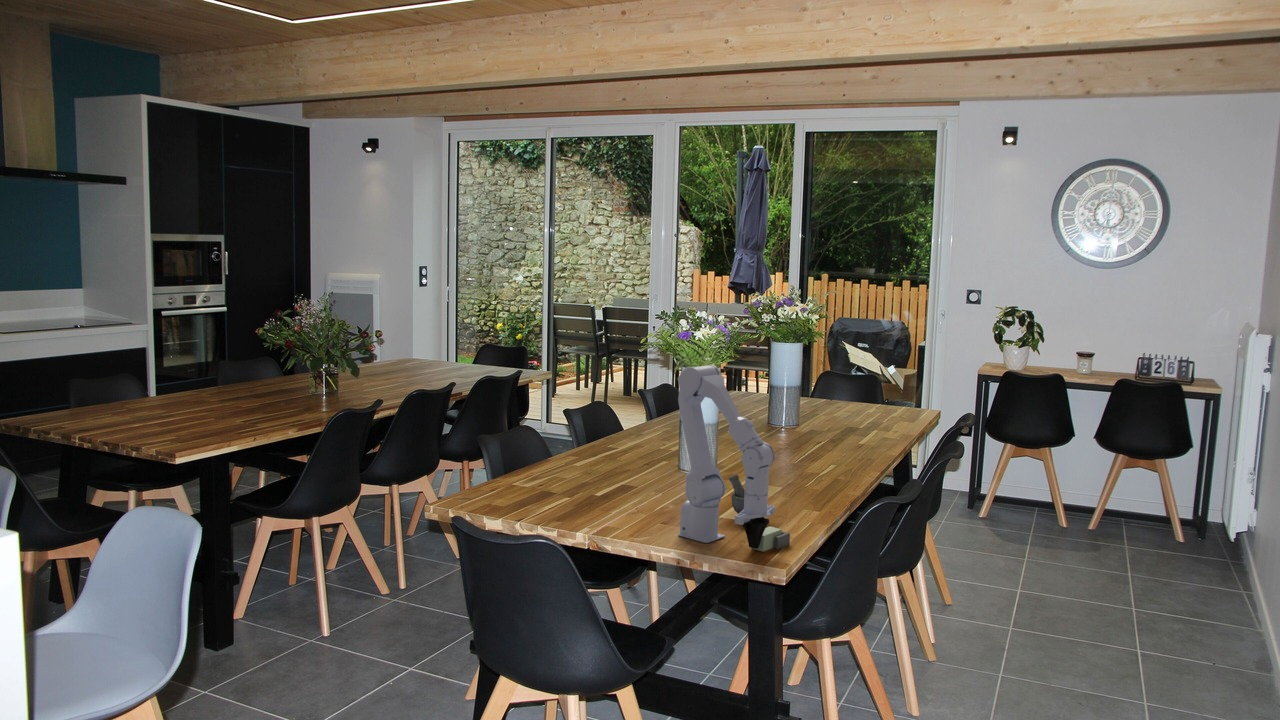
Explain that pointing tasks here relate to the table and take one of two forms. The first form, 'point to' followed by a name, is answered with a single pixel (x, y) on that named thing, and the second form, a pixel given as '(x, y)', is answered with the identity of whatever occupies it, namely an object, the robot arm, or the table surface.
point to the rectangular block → (768, 538)
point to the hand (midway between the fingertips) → (753, 547)
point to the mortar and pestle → (737, 494)
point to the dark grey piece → (782, 540)
